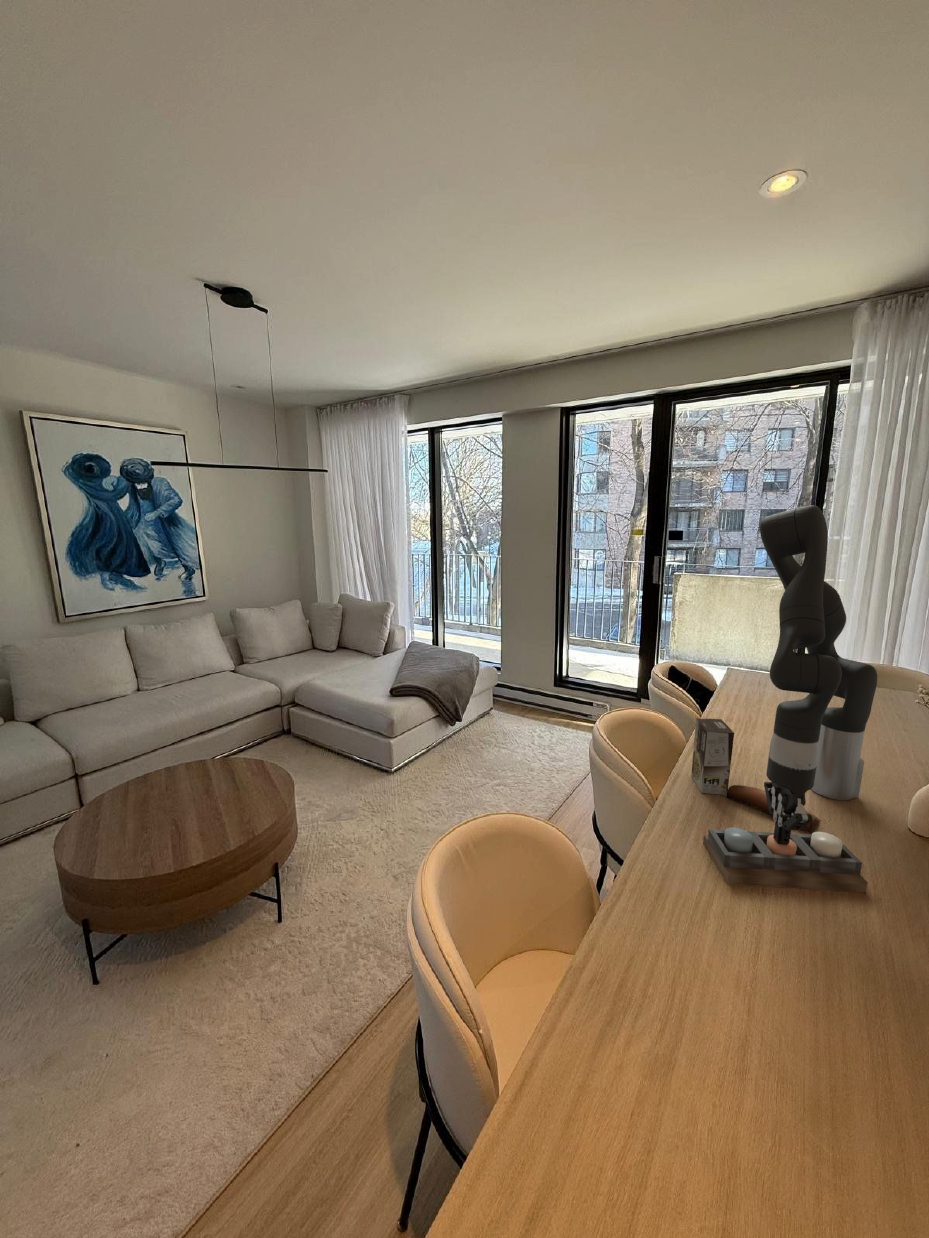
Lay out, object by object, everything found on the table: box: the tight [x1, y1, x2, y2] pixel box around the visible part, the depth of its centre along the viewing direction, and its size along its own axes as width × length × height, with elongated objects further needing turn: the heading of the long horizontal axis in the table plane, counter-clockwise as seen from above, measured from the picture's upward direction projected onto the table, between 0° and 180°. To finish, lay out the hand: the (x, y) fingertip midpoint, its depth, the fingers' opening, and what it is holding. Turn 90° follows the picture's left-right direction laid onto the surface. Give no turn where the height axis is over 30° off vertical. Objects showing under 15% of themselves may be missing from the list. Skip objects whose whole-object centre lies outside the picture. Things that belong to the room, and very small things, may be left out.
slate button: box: [724, 827, 753, 853], centre depth 98 cm, size 5×5×3 cm
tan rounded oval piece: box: [767, 835, 797, 856], centre depth 98 cm, size 5×5×3 cm
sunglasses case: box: [725, 784, 823, 834], centre depth 117 cm, size 18×7×7 cm
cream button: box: [810, 831, 844, 858], centre depth 97 cm, size 5×5×3 cm
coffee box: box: [690, 717, 736, 796], centre depth 127 cm, size 9×6×16 cm
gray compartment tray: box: [702, 829, 869, 893], centre depth 98 cm, size 24×12×4 cm, turn 85°
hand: (780, 841), depth 97 cm, fingers closed
